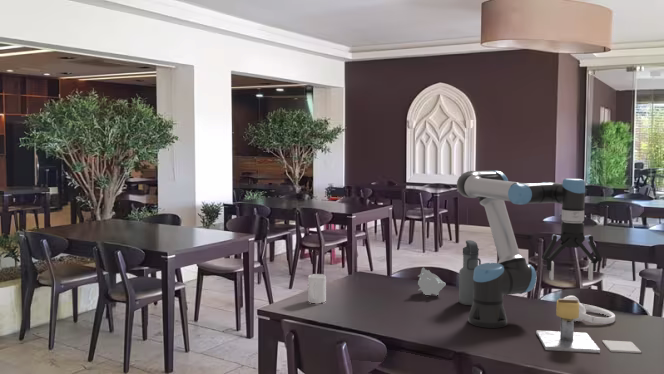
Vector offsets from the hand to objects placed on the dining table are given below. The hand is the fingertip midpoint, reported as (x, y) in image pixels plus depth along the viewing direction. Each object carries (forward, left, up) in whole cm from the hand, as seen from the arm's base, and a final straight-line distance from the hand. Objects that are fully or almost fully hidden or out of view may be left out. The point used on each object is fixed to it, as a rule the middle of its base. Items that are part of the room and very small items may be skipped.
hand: (570, 279), depth 214 cm
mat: (+17, -4, -23) cm, 29 cm away
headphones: (+15, +31, -23) cm, 42 cm away
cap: (-1, -2, -13) cm, 13 cm away
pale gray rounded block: (-101, +35, -23) cm, 110 cm away
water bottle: (-32, +46, -23) cm, 61 cm away
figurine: (-49, +58, -23) cm, 80 cm away
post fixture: (-1, -2, -23) cm, 23 cm away
